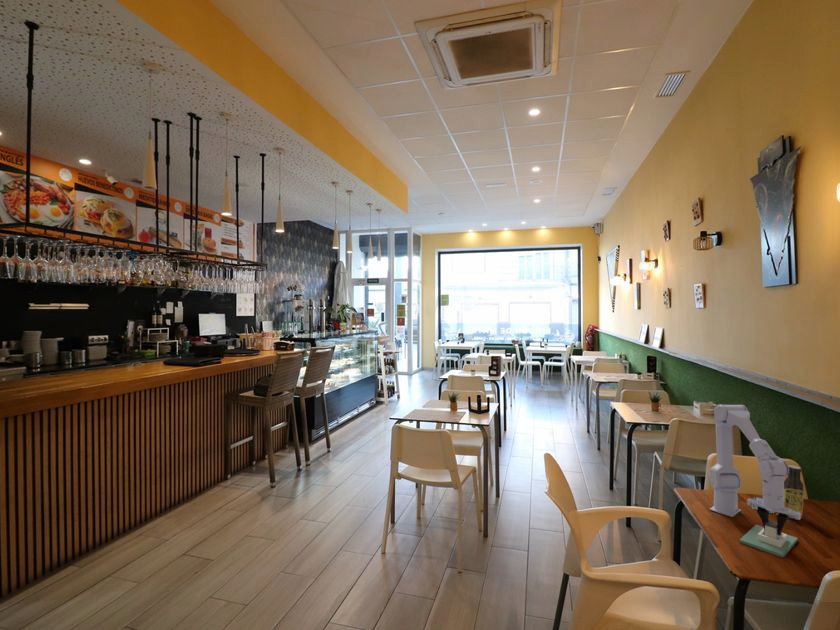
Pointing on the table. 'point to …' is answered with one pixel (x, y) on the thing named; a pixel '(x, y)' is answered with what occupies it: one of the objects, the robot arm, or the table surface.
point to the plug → (771, 529)
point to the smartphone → (759, 500)
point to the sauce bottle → (793, 490)
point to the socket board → (768, 541)
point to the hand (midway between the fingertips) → (772, 532)
